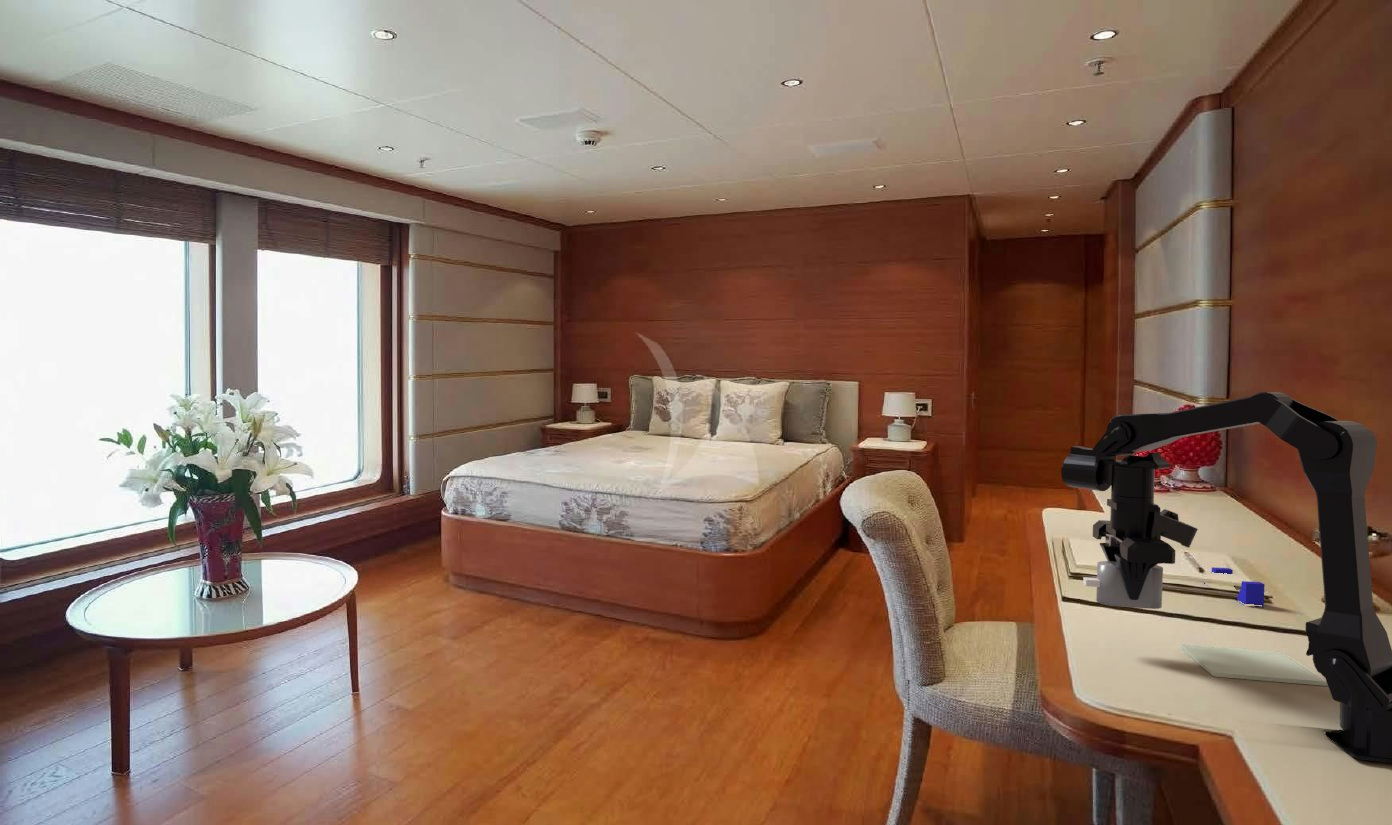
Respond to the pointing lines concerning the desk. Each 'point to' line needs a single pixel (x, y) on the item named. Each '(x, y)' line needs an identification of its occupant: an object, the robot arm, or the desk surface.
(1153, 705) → the desk surface
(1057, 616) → the desk surface
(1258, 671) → the sage pad
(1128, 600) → the rounded connector
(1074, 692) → the desk surface
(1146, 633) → the desk surface
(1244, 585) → the blue blocks
